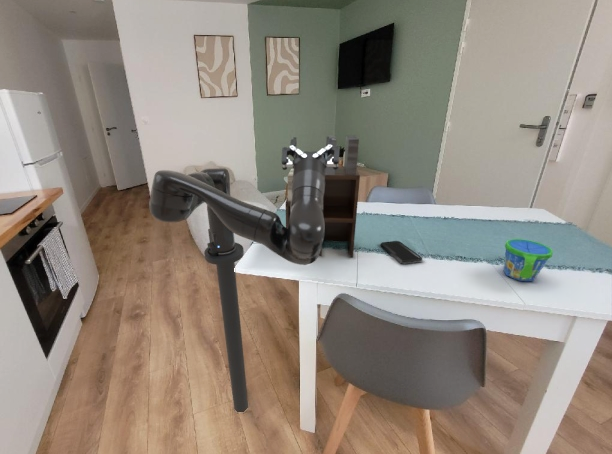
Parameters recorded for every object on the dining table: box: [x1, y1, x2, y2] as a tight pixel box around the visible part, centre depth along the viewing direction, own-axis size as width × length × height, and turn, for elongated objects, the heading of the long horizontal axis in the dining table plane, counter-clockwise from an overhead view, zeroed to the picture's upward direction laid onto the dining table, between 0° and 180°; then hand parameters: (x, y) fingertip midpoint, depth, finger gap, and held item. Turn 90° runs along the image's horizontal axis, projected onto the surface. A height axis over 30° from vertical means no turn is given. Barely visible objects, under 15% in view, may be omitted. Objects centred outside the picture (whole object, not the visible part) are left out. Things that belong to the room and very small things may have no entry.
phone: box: [380, 240, 423, 265], centre depth 105 cm, size 8×1×15 cm
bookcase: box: [285, 134, 361, 259], centre depth 104 cm, size 14×24×41 cm, turn 79°
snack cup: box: [503, 238, 554, 282], centre depth 87 cm, size 16×10×10 cm
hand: (311, 139), depth 77 cm, fingers open, 8 cm apart
